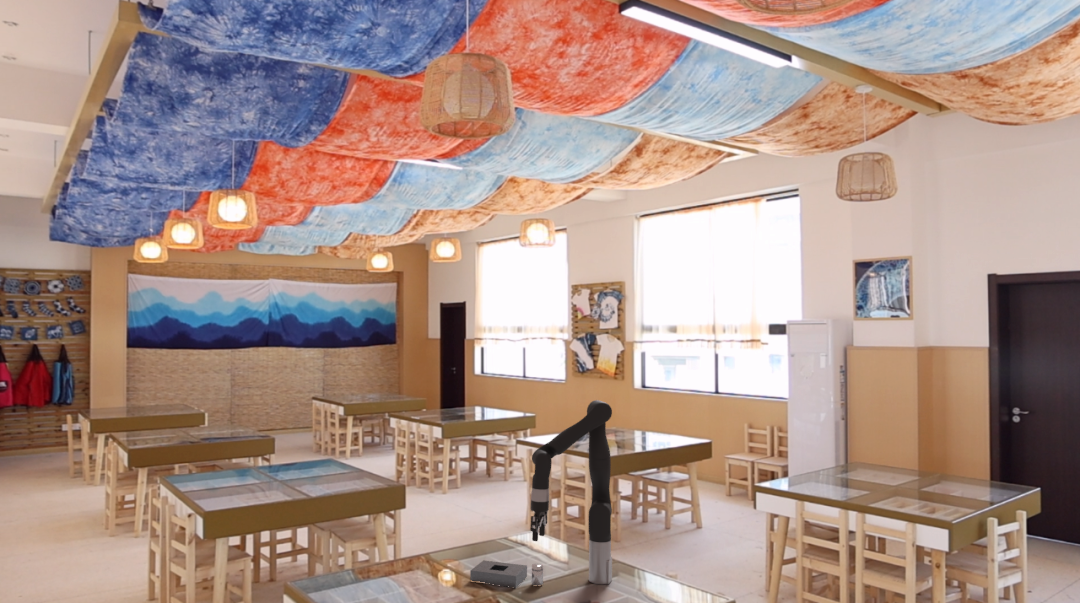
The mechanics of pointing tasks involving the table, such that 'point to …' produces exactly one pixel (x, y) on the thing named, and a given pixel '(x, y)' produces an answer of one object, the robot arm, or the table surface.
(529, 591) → the table surface
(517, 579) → the grey block with hole
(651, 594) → the table surface
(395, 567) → the table surface
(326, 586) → the table surface
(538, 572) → the piston
